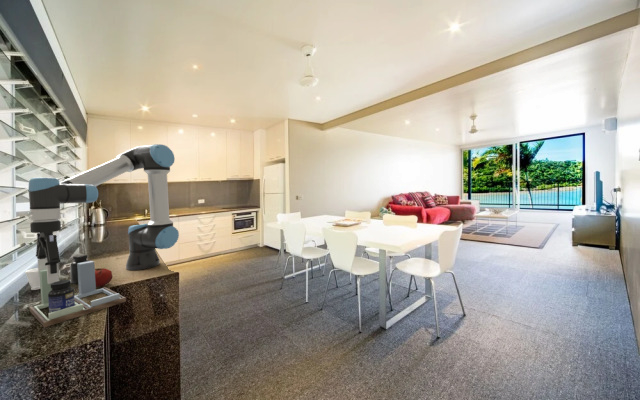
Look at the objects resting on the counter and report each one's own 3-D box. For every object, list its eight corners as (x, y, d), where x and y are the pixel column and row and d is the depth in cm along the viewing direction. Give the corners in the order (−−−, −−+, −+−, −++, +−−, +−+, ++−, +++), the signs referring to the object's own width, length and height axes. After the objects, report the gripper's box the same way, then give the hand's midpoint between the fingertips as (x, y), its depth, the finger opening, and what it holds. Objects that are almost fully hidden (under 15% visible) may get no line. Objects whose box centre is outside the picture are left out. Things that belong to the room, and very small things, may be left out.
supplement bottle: (85, 283, 117) (83, 256, 116) (67, 284, 115) (65, 258, 114) (94, 278, 123) (93, 253, 123) (77, 279, 122) (75, 254, 121)
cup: (22, 292, 107) (21, 273, 107) (33, 284, 116) (32, 267, 115) (46, 288, 110) (44, 270, 110) (55, 281, 119) (54, 264, 119)
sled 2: (100, 289, 107) (98, 259, 107) (121, 301, 96) (119, 267, 95) (71, 297, 100) (69, 264, 99) (90, 310, 88) (87, 273, 88)
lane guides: (105, 290, 107) (104, 286, 107) (125, 301, 96) (125, 297, 96) (29, 311, 90) (29, 306, 90) (44, 327, 78) (43, 322, 78)
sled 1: (67, 298, 99) (64, 265, 98) (85, 312, 87) (83, 275, 87) (32, 308, 91) (29, 272, 91) (47, 324, 80) (44, 283, 79)
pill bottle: (70, 316, 85) (68, 283, 85) (45, 321, 82) (43, 286, 82) (78, 308, 91) (76, 277, 90) (54, 312, 88) (52, 280, 87)
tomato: (94, 283, 116) (93, 266, 115) (117, 281, 118) (116, 264, 117) (79, 291, 107) (78, 272, 106) (105, 289, 108) (104, 270, 108)
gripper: (23, 220, 97) (25, 276, 97) (38, 223, 83) (41, 289, 84) (51, 218, 103) (53, 271, 104) (70, 221, 89) (73, 282, 90)
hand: (48, 279), depth 94 cm, fingers open, 13 cm apart
